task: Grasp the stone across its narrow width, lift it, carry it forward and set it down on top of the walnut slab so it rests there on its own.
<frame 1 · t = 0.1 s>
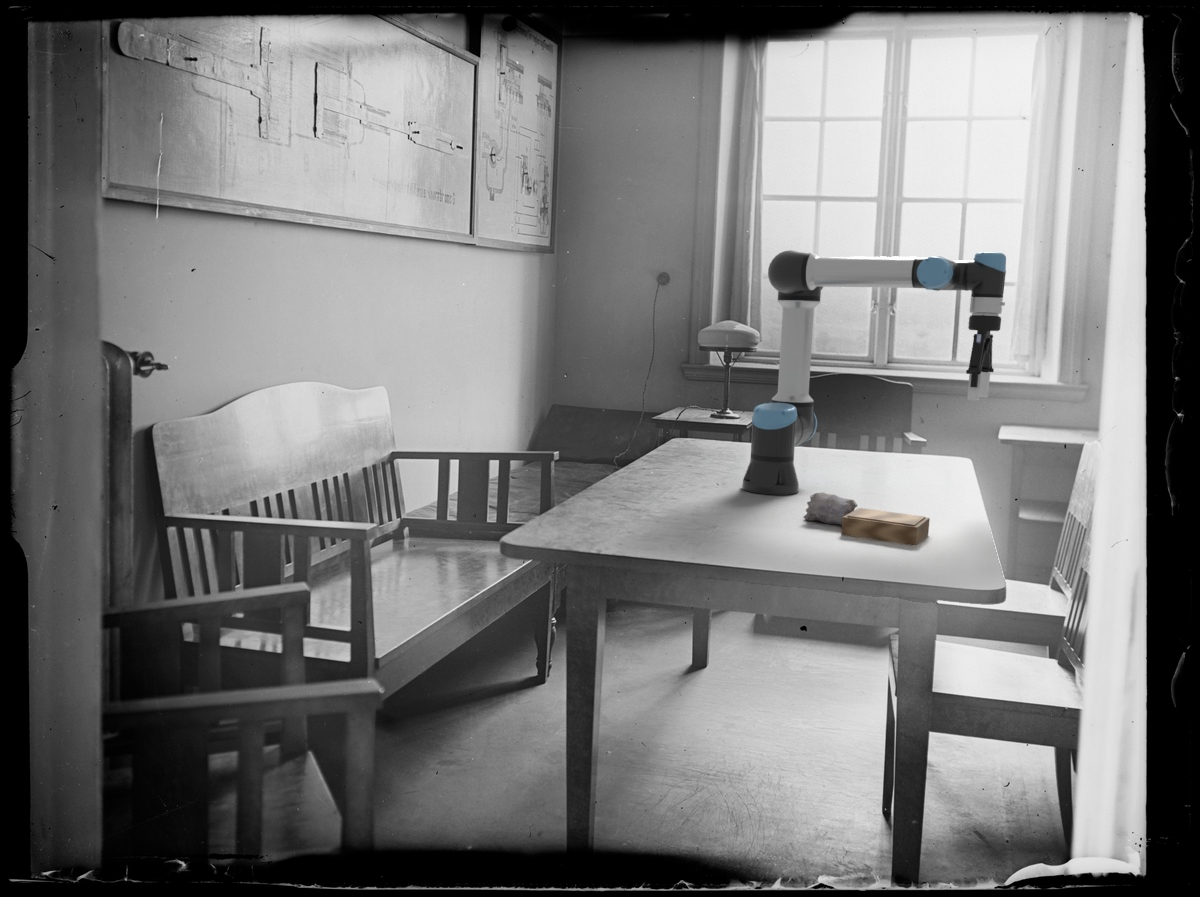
hand: (977, 398, 245), 28 cm above the table, fingers open, 13 cm apart
stone: (829, 523, 223), on the table
walnut slab: (885, 535, 212), on the table
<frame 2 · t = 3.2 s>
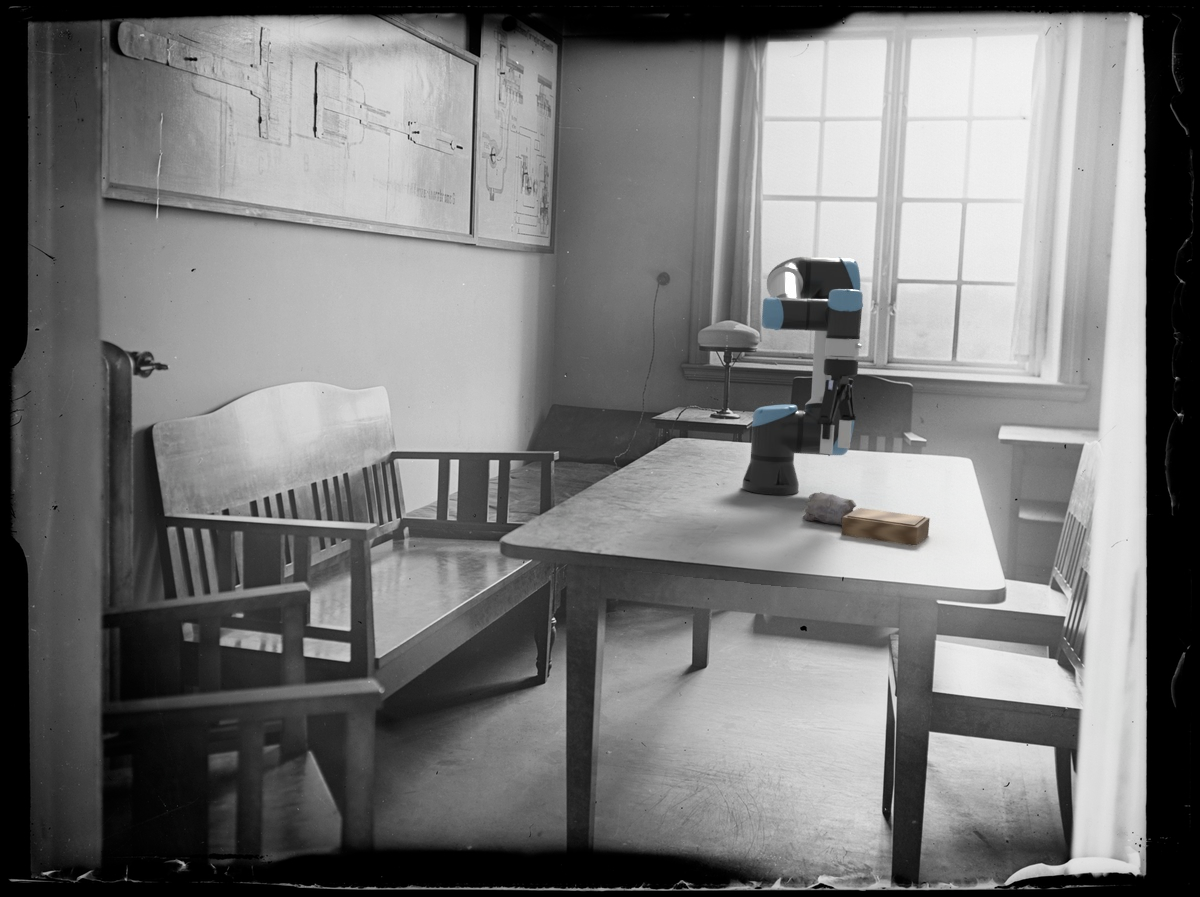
hand: (835, 450, 221), 17 cm above the table, fingers open, 13 cm apart
nothing on the table moved.
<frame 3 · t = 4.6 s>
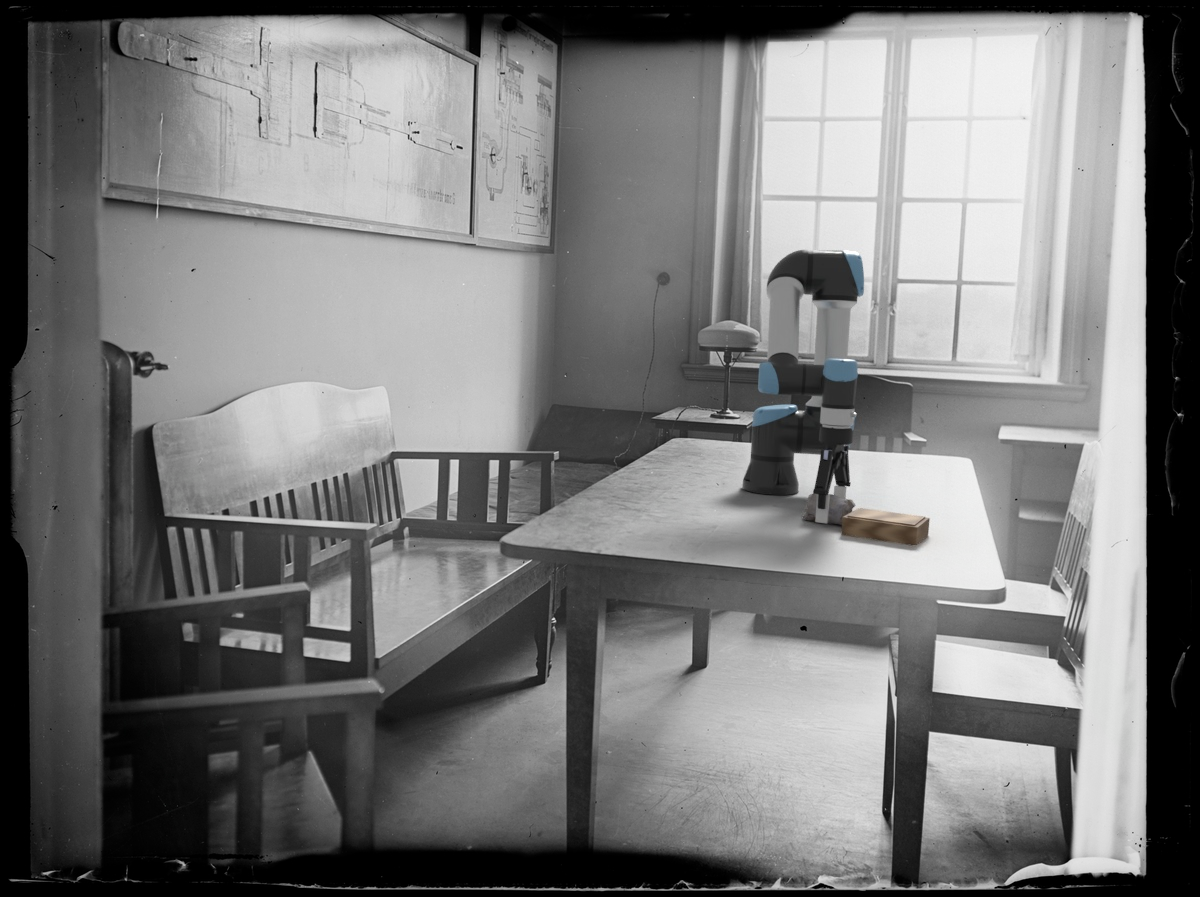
hand: (830, 517, 223), 1 cm above the table, fingers open, 12 cm apart
nothing on the table moved.
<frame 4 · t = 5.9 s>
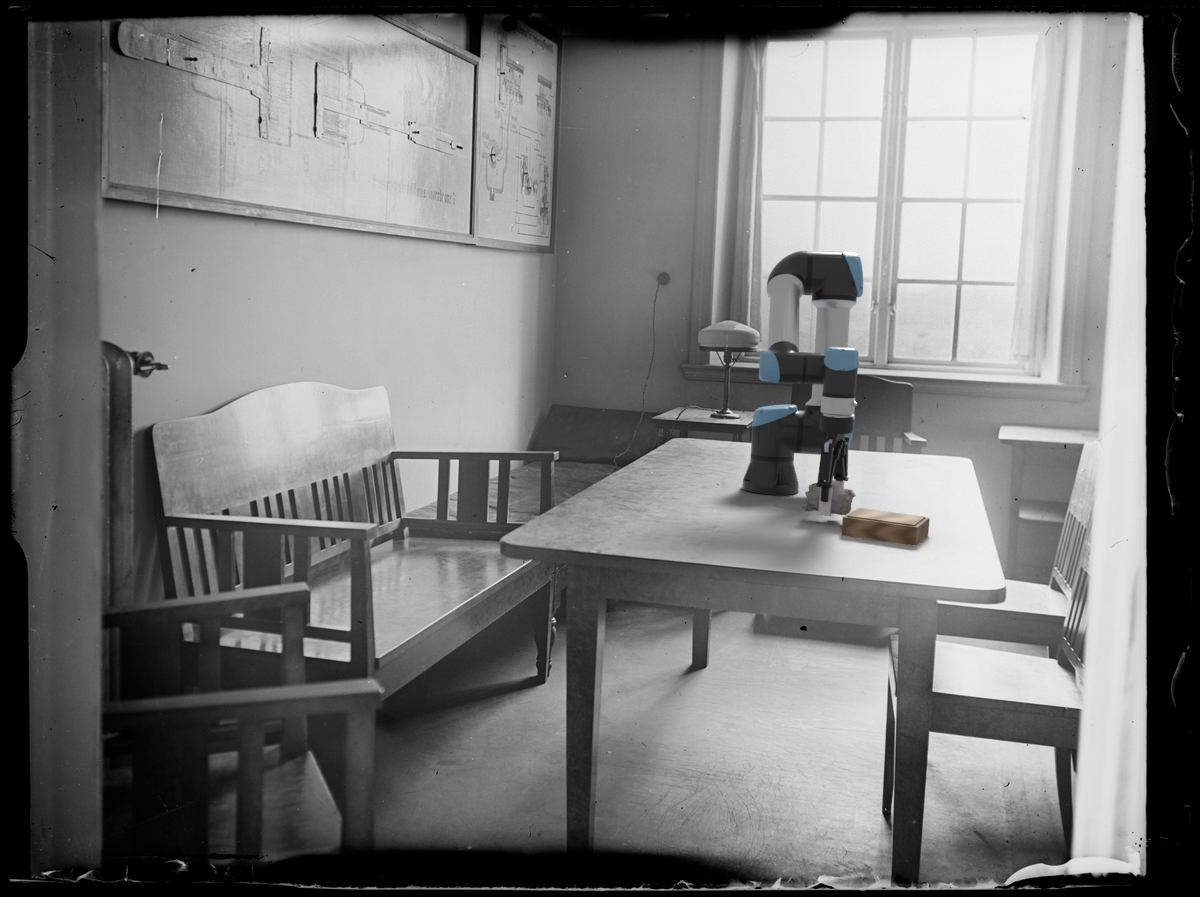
hand: (830, 511, 224), 2 cm above the table, fingers closed on stone, 8 cm apart
stone: (827, 513, 224), point 2 cm above the table, touching gripper
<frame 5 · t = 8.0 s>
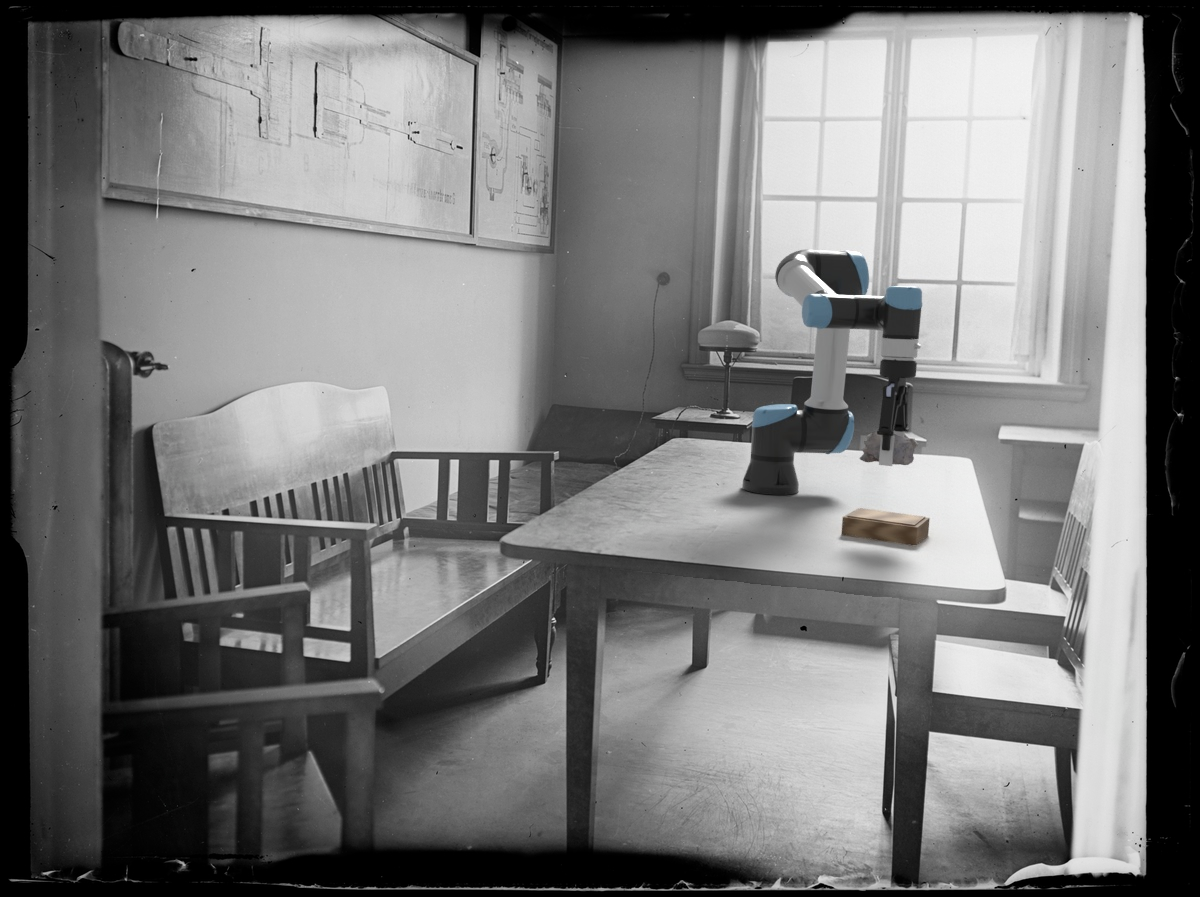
hand: (890, 462, 210), 16 cm above the table, fingers closed on stone, 8 cm apart
stone: (887, 464, 210), point 16 cm above the table, touching gripper
when the fingers open (5 cm above the table, at t = 10.3 s): stone stays where it is, resting on walnut slab.
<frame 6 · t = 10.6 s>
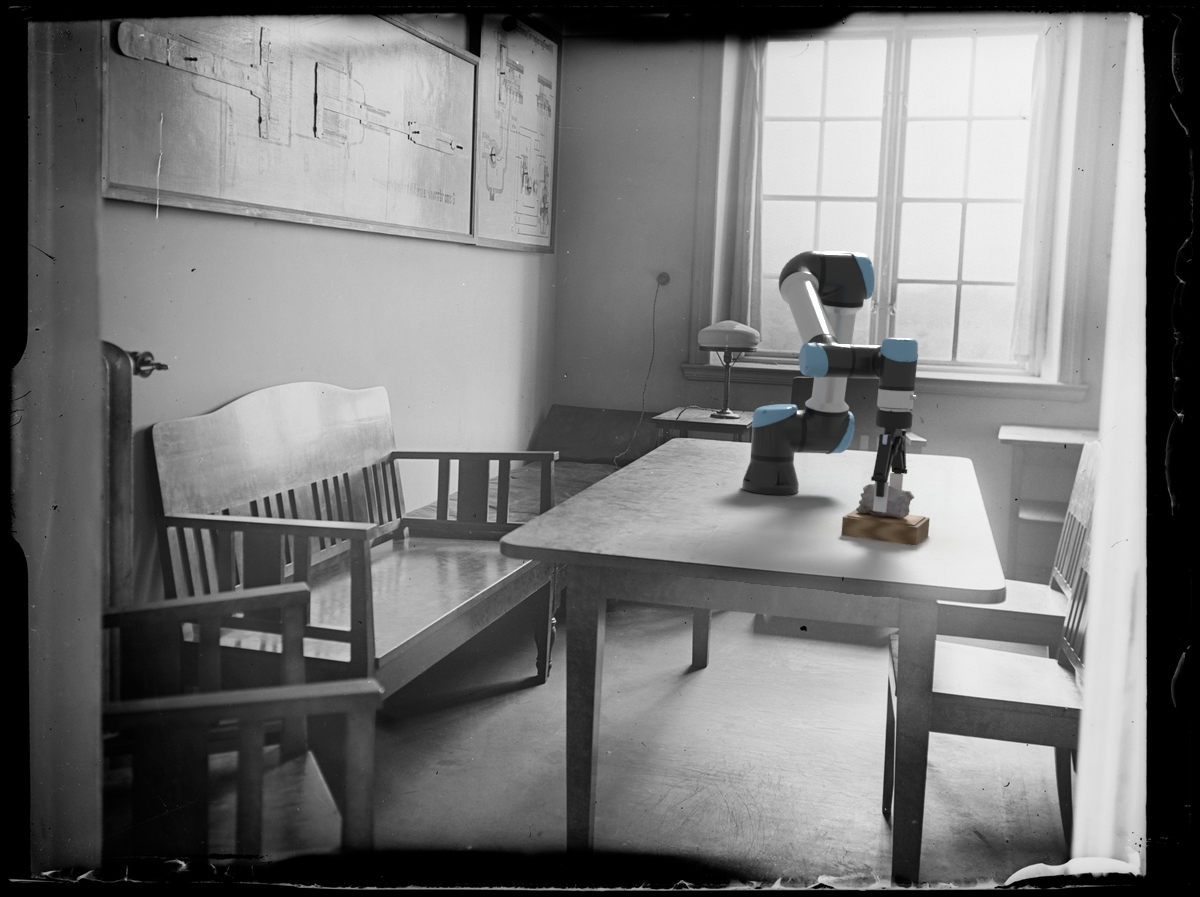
hand: (887, 506, 211), 6 cm above the table, fingers open, 12 cm apart
stone: (883, 516, 212), point 4 cm above the table, touching walnut slab
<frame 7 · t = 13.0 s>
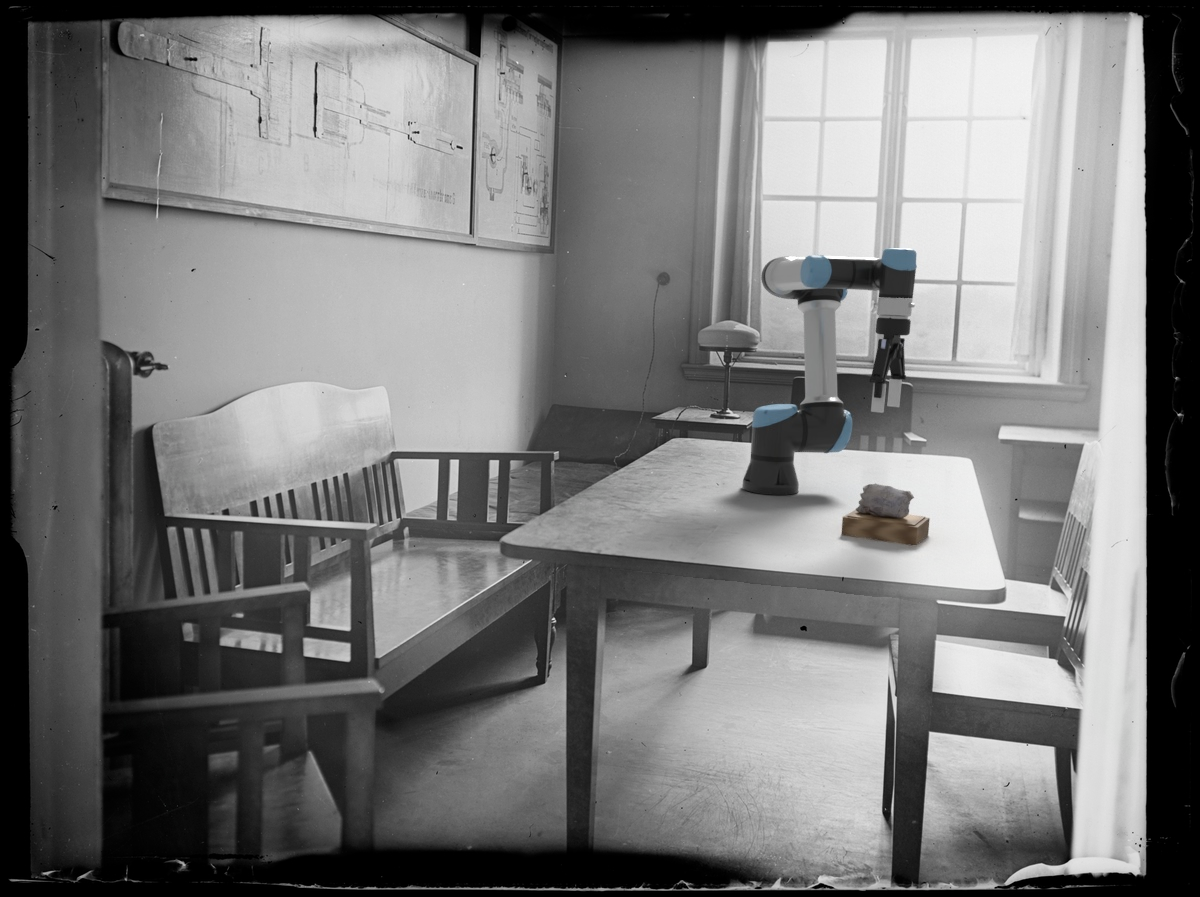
hand: (885, 409, 223), 27 cm above the table, fingers open, 13 cm apart
nothing on the table moved.
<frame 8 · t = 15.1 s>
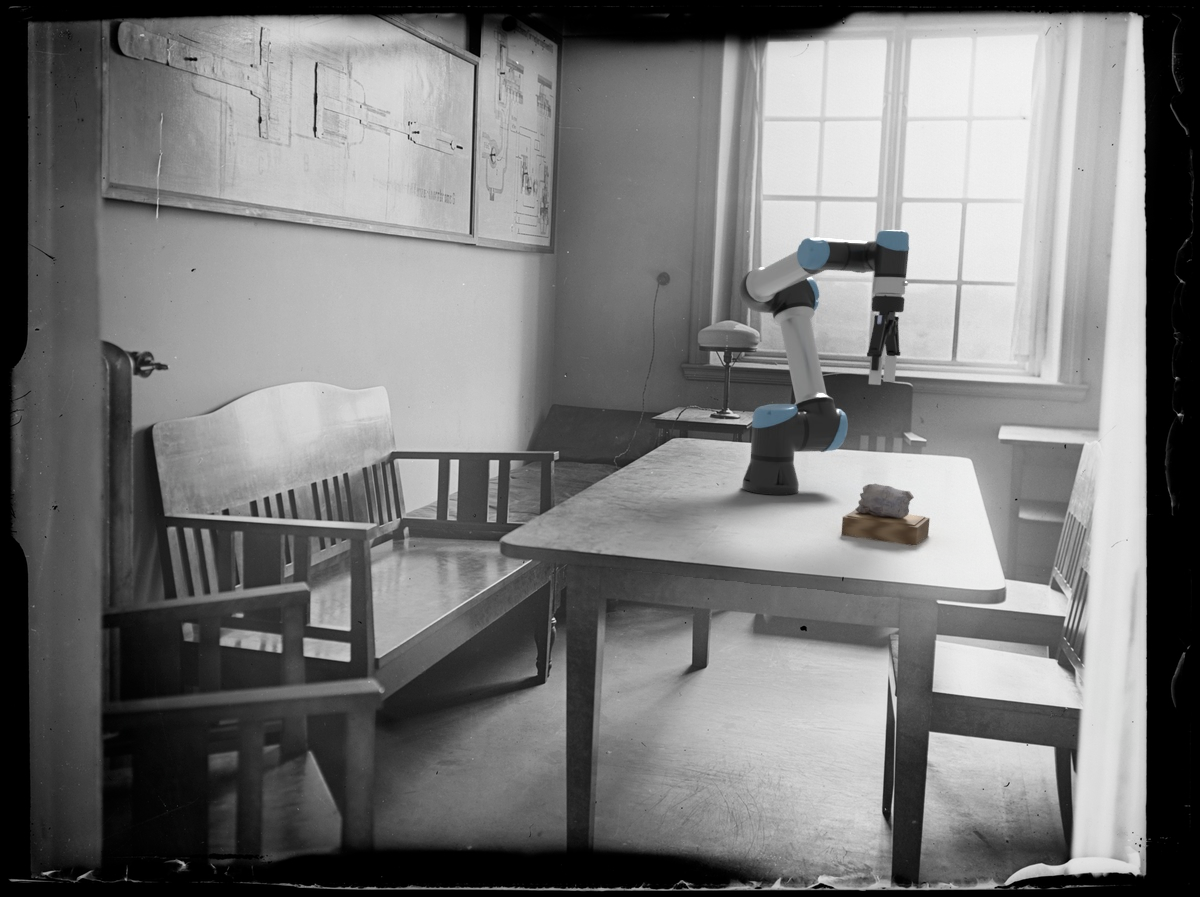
hand: (881, 383, 235), 32 cm above the table, fingers open, 13 cm apart
nothing on the table moved.
at the end: stone inside the target area on the walnut slab (0.7 cm from its centre), point 4.1 cm above the walnut slab's base; stone touching walnut slab; the gripper is holding nothing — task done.
